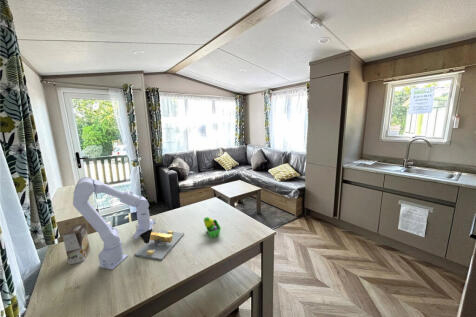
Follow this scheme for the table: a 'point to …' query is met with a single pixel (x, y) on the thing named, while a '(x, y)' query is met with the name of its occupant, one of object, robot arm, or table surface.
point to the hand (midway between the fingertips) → (146, 242)
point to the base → (159, 247)
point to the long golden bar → (160, 238)
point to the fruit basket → (212, 227)
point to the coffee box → (76, 243)
